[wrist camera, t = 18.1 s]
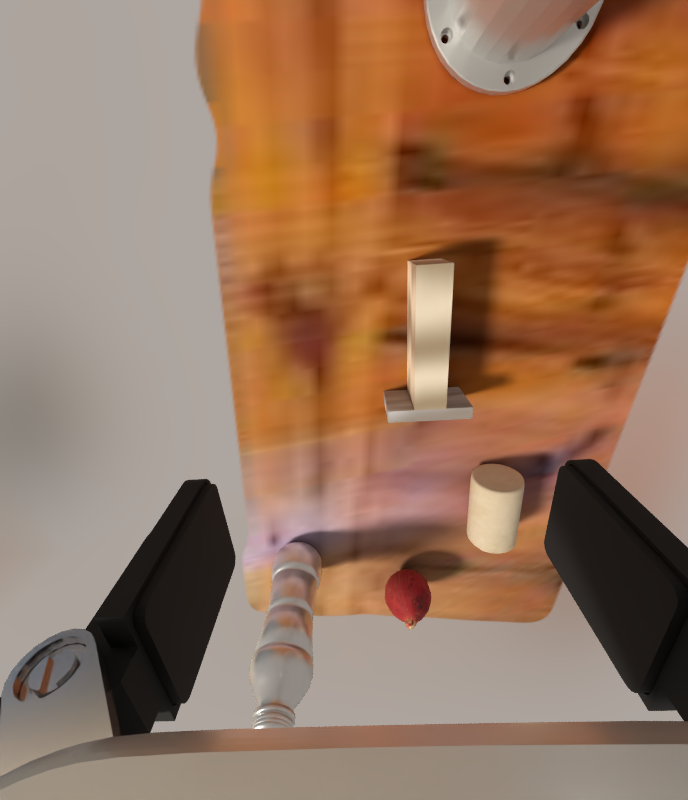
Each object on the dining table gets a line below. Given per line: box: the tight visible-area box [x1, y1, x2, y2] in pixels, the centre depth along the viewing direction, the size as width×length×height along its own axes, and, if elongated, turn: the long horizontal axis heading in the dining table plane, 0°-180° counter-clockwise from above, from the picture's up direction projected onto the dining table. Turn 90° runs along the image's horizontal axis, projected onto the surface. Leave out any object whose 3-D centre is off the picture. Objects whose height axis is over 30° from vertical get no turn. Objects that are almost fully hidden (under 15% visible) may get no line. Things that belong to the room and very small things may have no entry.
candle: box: [467, 464, 525, 553], centre depth 43 cm, size 6×6×10 cm
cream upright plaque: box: [384, 258, 473, 423], centre depth 35 cm, size 14×8×5 cm, turn 4°
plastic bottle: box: [249, 542, 322, 729], centre depth 41 cm, size 6×7×20 cm
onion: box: [385, 569, 431, 629], centre depth 47 cm, size 6×6×8 cm
